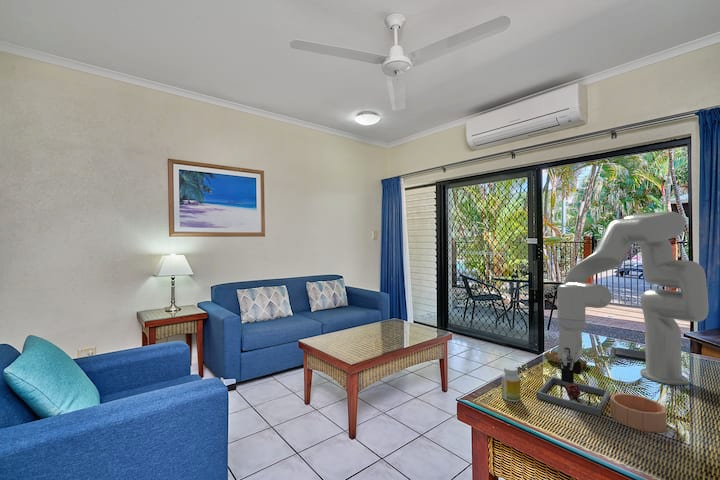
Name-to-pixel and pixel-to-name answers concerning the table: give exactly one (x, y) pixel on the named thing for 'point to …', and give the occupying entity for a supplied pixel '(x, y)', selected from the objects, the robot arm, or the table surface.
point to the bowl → (638, 412)
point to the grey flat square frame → (572, 404)
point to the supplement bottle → (511, 384)
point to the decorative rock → (554, 358)
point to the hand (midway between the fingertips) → (571, 377)
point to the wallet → (628, 354)
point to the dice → (572, 390)
